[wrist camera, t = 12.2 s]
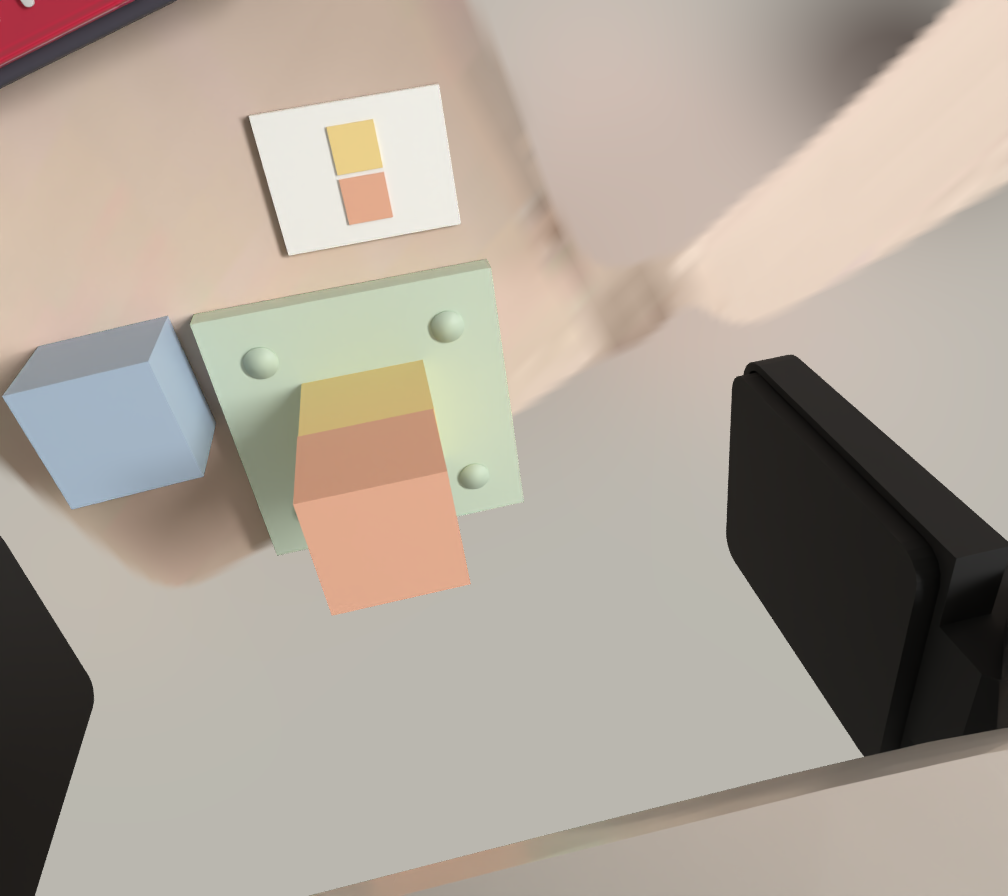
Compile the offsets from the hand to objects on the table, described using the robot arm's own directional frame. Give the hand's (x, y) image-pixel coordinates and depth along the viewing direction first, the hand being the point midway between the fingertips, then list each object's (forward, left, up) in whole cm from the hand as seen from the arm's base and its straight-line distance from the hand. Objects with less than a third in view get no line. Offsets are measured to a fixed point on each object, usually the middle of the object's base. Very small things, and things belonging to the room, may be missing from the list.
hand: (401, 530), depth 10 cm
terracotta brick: (+14, -2, -22) cm, 26 cm away
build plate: (+14, -2, -28) cm, 32 cm away
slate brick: (+10, -13, -28) cm, 33 cm away
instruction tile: (+2, 0, -28) cm, 28 cm away
